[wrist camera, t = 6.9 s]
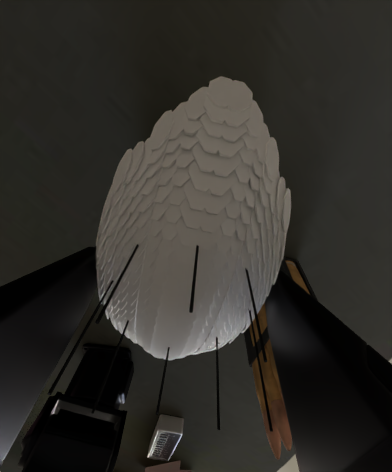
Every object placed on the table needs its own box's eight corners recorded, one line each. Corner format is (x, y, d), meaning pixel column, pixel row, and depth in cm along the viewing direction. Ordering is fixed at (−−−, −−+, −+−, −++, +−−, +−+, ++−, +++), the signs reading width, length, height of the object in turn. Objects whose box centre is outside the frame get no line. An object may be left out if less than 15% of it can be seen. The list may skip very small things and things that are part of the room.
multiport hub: (184, 418, 41) (182, 434, 39) (170, 446, 48) (168, 461, 46) (160, 413, 40) (157, 429, 38) (149, 443, 48) (146, 458, 46)
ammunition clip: (280, 255, 22) (343, 393, 11) (298, 260, 22) (376, 400, 12) (242, 325, 27) (261, 461, 17) (256, 328, 27) (284, 465, 17)
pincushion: (218, 351, 12) (222, 509, 8) (108, 329, 12) (39, 481, 7) (334, 109, 6) (718, 126, 2) (123, 50, 6) (-249, -176, 1)
